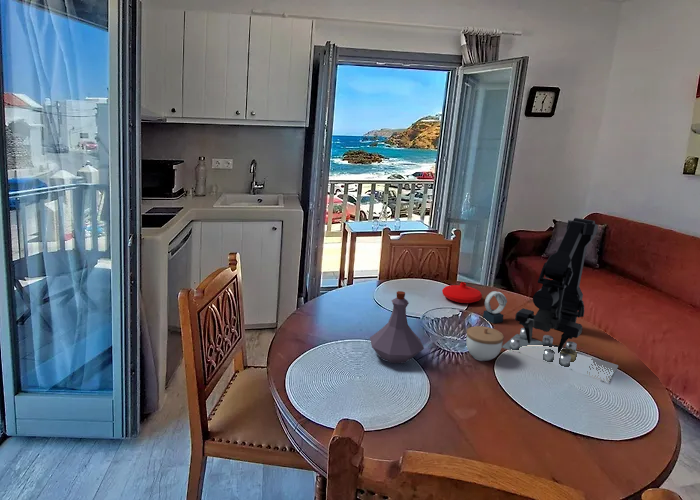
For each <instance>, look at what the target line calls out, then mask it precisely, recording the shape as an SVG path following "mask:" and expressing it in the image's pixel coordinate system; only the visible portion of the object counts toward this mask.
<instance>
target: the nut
mask: <svg viewBox="0 0 700 500" xmlns="http://www.w3.org/2000/svg"><path fill="white" fill-rule="evenodd" d="M562 348H563V349H562V350H561V352H560V354H561V353H565V354H569V355H570V356H571V360H570V362H574V361H575V360H576V357H577V353H578V352H577V351H576V352H575V351H574V350H572V349H566V347H562Z"/></svg>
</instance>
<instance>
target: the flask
mask: <svg viewBox="0 0 700 500" xmlns="http://www.w3.org/2000/svg"><path fill="white" fill-rule="evenodd" d="M405 297H406V292H405V291H402V290H400V291H399V290H398V291H396V297H395V298H393V299H391V302H392V305H393V308H392V311H391V314H390V317H389V319H388V322H387V323H386V324H385V325H384V326H383V327H382V328H380V329H379V330H378V331H377V332H375V333H374V334H373V335H371V336H370V337H369V340H370V344H371V348H372V349H373V350H374V352H375V353H376V354H377V355H378V356H379V358H380V359H381V358H382V359H381V360H383V359H384V360H383V361H386V362H387V363H390V362H391V363H390V364H405V363H407V362H409V361H410V359H411V360H412V359H413V358H414V357H416V356H417V355H418V354H419V353H421V352H422V351H423V350H424V349H425V348H424V344H423V343H422V341H421V339H420V338H419V336H418V335H417V334H416V333H415V331H413V329H412V328H411V327H410V326H409V324H408V317H407V307H408V306H409V303H410V302H409V301H408V300H407V299H406V298H405Z"/></svg>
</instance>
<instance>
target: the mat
mask: <svg viewBox="0 0 700 500" xmlns="http://www.w3.org/2000/svg"><path fill="white" fill-rule="evenodd" d="M512 338H518V339H520V340H521V342H520V347H522V346H527V345H542V341H543V340H542V341H541V340H538V339H534V338H532V339H531V342H530V344H529V343H528V340H523V339H521V338H520V333H519V334H518V333H516V334H515V335H514V336H512ZM510 340H511V338H510V339H509V340H508V341H506V342H505V343H504V344H502V347H501V349H505V350H508V351H511V349H510V348H509V346H510ZM552 346H554V347H559V345H558V346H557V345H554V344H552ZM591 357H592V359H591V360H593V363H594V365H595V366H596V364H597V366H598V365H599V366H601V367H602V365H603V367H604V369H606V368H607V369H606V370H608V372H609V369H610V371H611V370H613V372H615V373H616V372H617V369H618V368H619V364H615V363H612V362H609V361H606V360H603V359H599V358H596V357H593V356H591ZM595 362H596V364H595ZM591 365H592V364H591ZM592 366H593V365H592ZM599 366H598V368H600V367H599ZM603 367H602V368H603ZM605 367H606V368H605ZM589 368H590V366H589ZM592 368H593V367H592ZM598 368H597V367H596V370H597V369H598ZM608 368H609V369H608ZM611 368H612V369H611ZM593 369H594V368H593ZM600 369H601V368H600ZM600 369H598V370H600ZM590 370H591V368H590ZM598 370H597V371H598ZM606 370H605V371H606ZM602 371H603V369H602ZM600 372H601V371H600ZM603 372H604V371H603ZM611 372H612V371H611ZM606 373H607V372H606ZM587 374H588V371H587ZM598 374H599V372H598ZM604 374H605V373H604ZM609 374H610V372H609ZM607 375H608V374H607ZM598 376H599V375H598ZM598 376H597V377H596V375H595V376H594V377H593V375H592V376H590V372H589V376H588V377H590V378H593V379H597V380H599V379H600V380H599V381H601V380H602V379H601V377H600V378H598ZM610 376H611V375H610ZM610 376H608V378H609V380H608V378H607V376H606V381H607V382H608V383H610V382H611V380H612V378H613V377H611V378H610ZM595 377H596V378H595ZM610 379H611V380H610ZM603 381H605V379H604V378H603ZM606 381H605V382H606ZM609 381H610V382H609Z"/></svg>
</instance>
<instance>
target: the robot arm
mask: <svg viewBox="0 0 700 500" xmlns="http://www.w3.org/2000/svg"><path fill="white" fill-rule="evenodd" d="M595 221H596V220H592V219H585V218H578V217H574V219H573V220H571V219H570V220H569V219H568V220H567V224H566V229H565V233H564V236H563V237H562V240H561V242H560V244H559V246H558V248H557V251H556V252H555V253H552V254H551V255H549V257H548V258H547V260H546V262H544V263H543V265H542V268H541V271H540V274H539V276H538V279H537V284H542V285H541V288H540V289H539V290H537V291H536V292H535V293H534V294H533V296H532V302H533V303H532V304H533V305H534V306H535V307H536V308H538V310H537V312H536V313H535V312H534V310H531V309H528V308H523V307H522V308H521V309H520V310H518V311H517V312H516V313H515V315H514V316H515V318H514V321H516V322H518V323H519V325H522V328H524V329H525V331H526V336H527V340H528V343H529V344H530V342H531V339H533V332H534V331H533V330H540V331H543V332H544V333H548V332H550V331H551V329H552V330H553V329H554V330H557V331H559V332H563V333H562V334H561V336H560V341H559V344H558V353H559V352H560V351H561V349H562V348H564V346H565V345H566V342H568V341H569V340H572V339H577V338H579V336H580V335H581V334H582V333H583V325H582V324H581V323H578V322H577V318H578V319H579V318H584V316H585V303H584V300H583V299H584V298H583V297H584V294H583V291H582V289H581V287H580V286H581V285H580V284H581V279H582V274H583V269H584V263H585V258H586V253H587V248H588V245H589V244H591V242H593V240H594V238H595V236H596V235H597V233H598V230H599V229H598V228H599V225H598V224H596V222H595ZM568 339H569V340H568Z"/></svg>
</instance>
